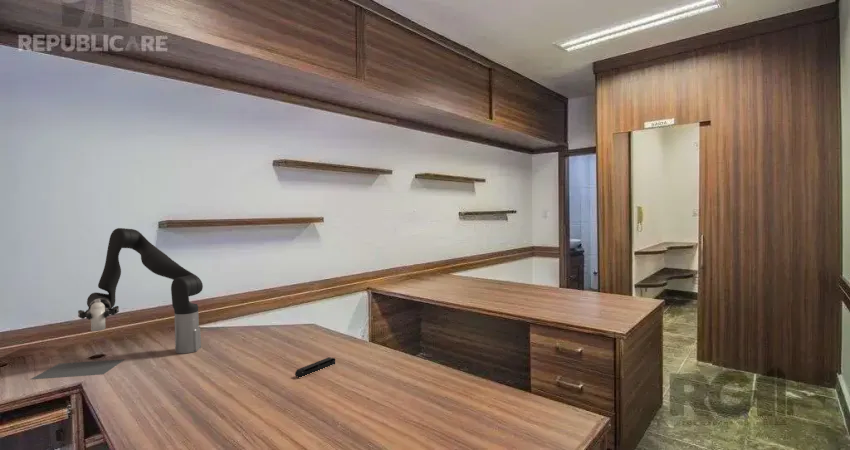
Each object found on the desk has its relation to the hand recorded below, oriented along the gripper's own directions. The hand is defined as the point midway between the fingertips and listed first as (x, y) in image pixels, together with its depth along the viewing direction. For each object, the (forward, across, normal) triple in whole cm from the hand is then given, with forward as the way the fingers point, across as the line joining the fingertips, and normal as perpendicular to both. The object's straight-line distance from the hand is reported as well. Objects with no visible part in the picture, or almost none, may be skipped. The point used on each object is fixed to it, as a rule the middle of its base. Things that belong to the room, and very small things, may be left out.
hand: (97, 316), depth 166 cm
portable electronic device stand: (+58, +69, +20) cm, 92 cm away
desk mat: (+2, -6, +20) cm, 21 cm away
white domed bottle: (-3, 0, +6) cm, 7 cm away
